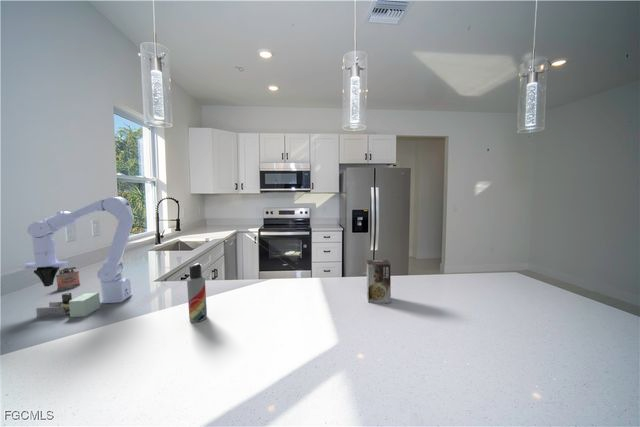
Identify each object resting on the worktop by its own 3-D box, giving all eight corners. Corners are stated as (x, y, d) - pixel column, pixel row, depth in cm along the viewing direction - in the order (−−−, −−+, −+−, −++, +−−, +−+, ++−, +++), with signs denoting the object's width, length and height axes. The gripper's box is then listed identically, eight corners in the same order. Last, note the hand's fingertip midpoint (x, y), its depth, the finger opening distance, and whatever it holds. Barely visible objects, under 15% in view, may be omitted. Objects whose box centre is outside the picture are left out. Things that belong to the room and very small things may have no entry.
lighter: (57, 290, 118) (55, 270, 117) (56, 289, 120) (54, 268, 120) (81, 285, 125) (79, 265, 124) (79, 284, 127) (77, 264, 126)
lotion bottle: (200, 323, 87) (196, 267, 85) (185, 322, 88) (182, 266, 86) (210, 315, 93) (207, 262, 91) (196, 314, 94) (193, 261, 92)
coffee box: (388, 296, 107) (388, 259, 106) (390, 303, 101) (391, 264, 99) (366, 296, 108) (366, 259, 106) (367, 302, 101) (367, 263, 100)
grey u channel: (76, 309, 99) (75, 300, 99) (64, 316, 94) (63, 307, 93) (51, 310, 98) (50, 302, 98) (37, 317, 93) (36, 308, 92)
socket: (100, 307, 101) (99, 292, 100) (85, 316, 93) (83, 300, 93) (86, 307, 100) (85, 293, 100) (70, 317, 93) (68, 301, 92)
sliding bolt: (93, 307, 98) (91, 291, 98) (86, 310, 95) (85, 294, 95) (68, 308, 98) (66, 292, 97) (60, 312, 94) (58, 296, 94)
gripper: (74, 248, 103) (77, 281, 104) (34, 250, 101) (38, 282, 103) (58, 252, 96) (61, 287, 97) (15, 254, 94) (19, 289, 96)
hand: (48, 285), depth 99 cm, fingers closed
